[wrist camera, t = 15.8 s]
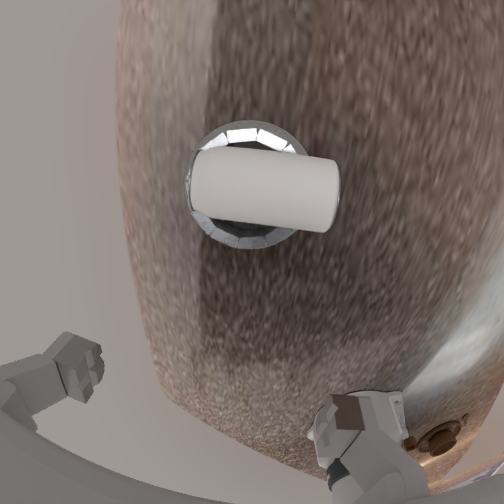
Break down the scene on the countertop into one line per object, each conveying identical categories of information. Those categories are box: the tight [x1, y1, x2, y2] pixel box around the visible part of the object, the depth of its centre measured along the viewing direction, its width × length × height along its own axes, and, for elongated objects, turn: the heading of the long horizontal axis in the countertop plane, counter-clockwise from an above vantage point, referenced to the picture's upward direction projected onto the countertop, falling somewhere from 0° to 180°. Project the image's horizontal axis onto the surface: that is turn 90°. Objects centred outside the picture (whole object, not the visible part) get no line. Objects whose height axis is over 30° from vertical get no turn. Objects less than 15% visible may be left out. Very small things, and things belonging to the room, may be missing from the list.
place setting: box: [402, 414, 469, 457], centre depth 45 cm, size 18×20×6 cm
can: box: [188, 146, 341, 232], centre depth 25 cm, size 6×6×12 cm
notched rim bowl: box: [184, 120, 308, 249], centre depth 30 cm, size 14×14×3 cm
